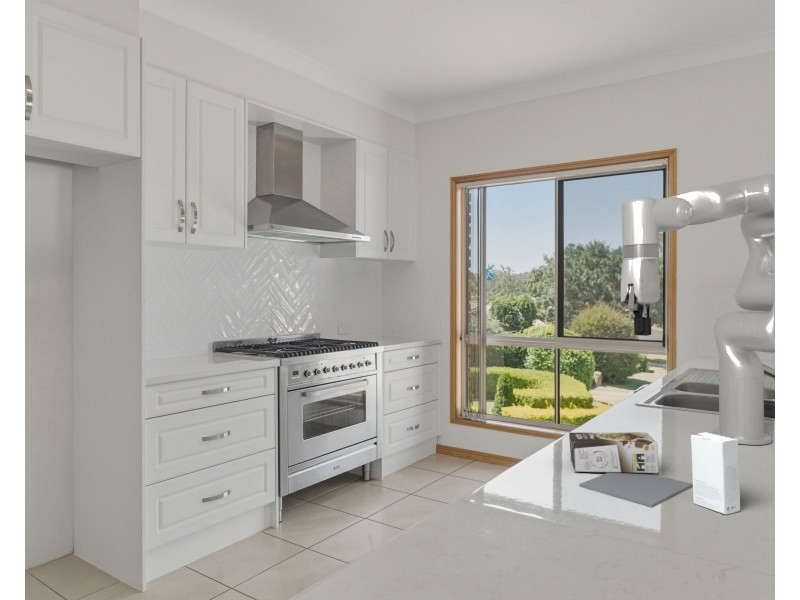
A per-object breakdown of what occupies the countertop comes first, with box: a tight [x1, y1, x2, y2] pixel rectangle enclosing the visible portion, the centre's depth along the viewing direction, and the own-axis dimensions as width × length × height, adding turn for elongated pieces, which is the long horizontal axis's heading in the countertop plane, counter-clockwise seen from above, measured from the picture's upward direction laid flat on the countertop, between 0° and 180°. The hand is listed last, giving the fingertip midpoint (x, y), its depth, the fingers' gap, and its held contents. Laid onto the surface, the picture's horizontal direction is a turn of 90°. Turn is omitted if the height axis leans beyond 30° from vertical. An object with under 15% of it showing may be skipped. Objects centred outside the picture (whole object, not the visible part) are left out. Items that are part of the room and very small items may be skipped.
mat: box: [578, 472, 693, 508], centre depth 106 cm, size 16×14×1 cm
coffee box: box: [568, 431, 660, 474], centre depth 117 cm, size 9×6×16 cm
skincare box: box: [690, 431, 741, 515], centre depth 96 cm, size 6×4×12 cm
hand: (642, 335), depth 127 cm, fingers closed
